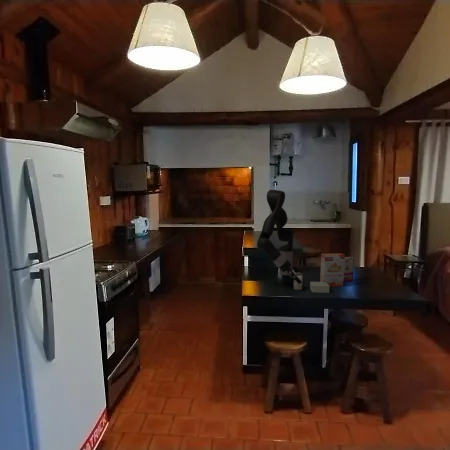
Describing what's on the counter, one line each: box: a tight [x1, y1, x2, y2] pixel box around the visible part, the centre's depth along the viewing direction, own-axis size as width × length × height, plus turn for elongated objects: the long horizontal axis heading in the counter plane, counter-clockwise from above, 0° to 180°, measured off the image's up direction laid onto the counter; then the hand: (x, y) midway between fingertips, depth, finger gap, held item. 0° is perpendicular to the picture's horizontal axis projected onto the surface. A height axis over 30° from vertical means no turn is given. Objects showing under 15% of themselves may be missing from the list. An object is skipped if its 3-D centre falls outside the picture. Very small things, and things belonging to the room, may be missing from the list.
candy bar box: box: [343, 256, 355, 283], centre depth 262 cm, size 11×5×16 cm, turn 112°
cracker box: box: [319, 253, 346, 288], centre depth 249 cm, size 14×6×21 cm, turn 101°
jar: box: [293, 271, 303, 291], centre depth 241 cm, size 5×5×10 cm
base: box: [309, 281, 330, 294], centre depth 239 cm, size 10×10×4 cm
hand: (299, 281), depth 241 cm, fingers open, 8 cm apart
